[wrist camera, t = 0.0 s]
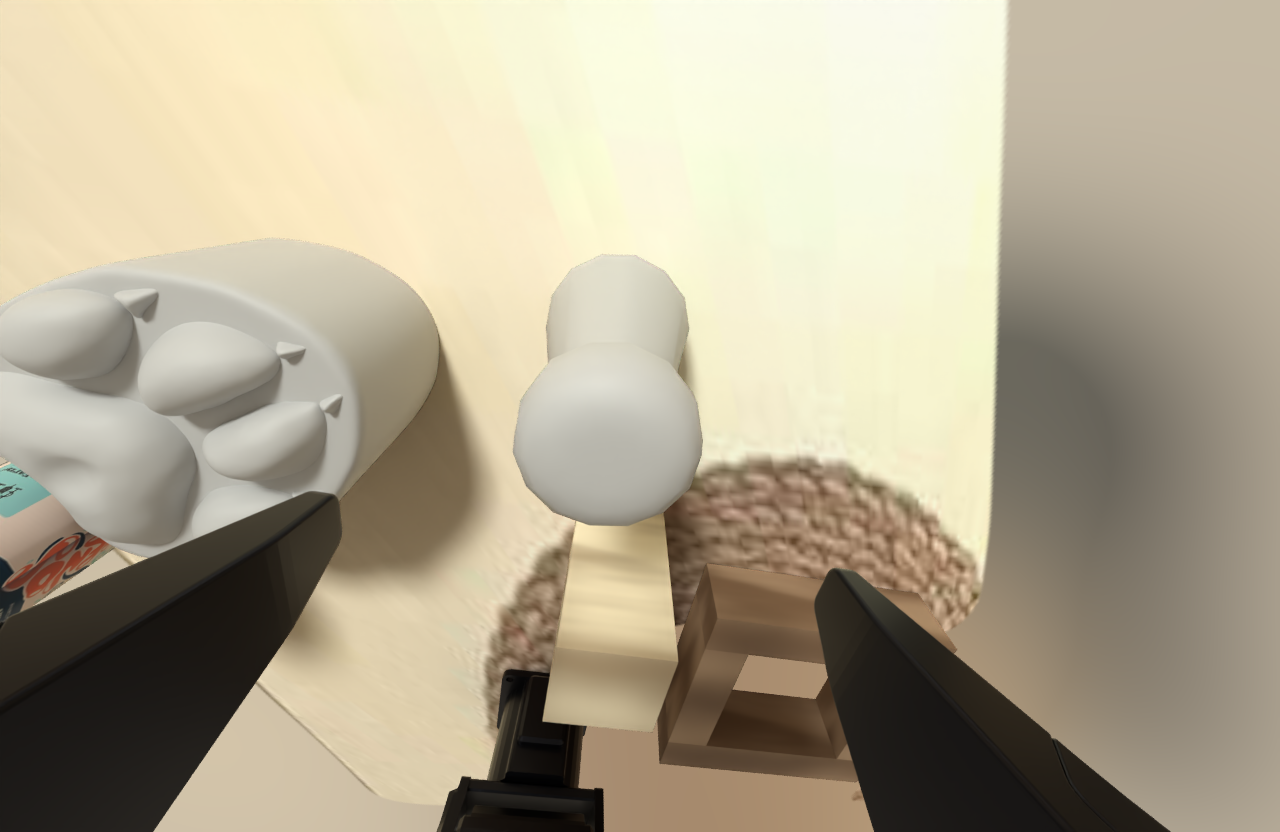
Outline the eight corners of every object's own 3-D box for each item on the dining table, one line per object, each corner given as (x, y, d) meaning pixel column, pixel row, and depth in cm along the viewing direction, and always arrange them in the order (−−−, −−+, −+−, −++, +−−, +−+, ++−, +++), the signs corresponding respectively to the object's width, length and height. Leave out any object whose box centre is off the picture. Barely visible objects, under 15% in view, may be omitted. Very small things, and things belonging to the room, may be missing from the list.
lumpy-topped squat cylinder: (112, 303, 21) (-195, 374, 13) (359, 189, 19) (173, 194, 11) (272, 482, 25) (113, 615, 18) (485, 405, 23) (413, 515, 16)
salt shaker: (662, 383, 23) (695, 590, 11) (547, 357, 22) (455, 549, 11) (698, 264, 20) (787, 372, 9) (569, 229, 20) (481, 298, 8)
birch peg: (645, 557, 28) (652, 732, 19) (571, 546, 28) (542, 721, 19) (662, 497, 26) (678, 661, 17) (582, 484, 26) (556, 647, 17)
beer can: (166, 487, 25) (-177, 714, 14) (102, 410, 23) (-357, 609, 12) (247, 470, 25) (-46, 690, 14) (188, 389, 23) (-208, 577, 12)
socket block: (833, 722, 36) (856, 782, 32) (656, 703, 34) (659, 763, 31) (917, 593, 30) (957, 649, 26) (706, 563, 28) (717, 618, 25)
